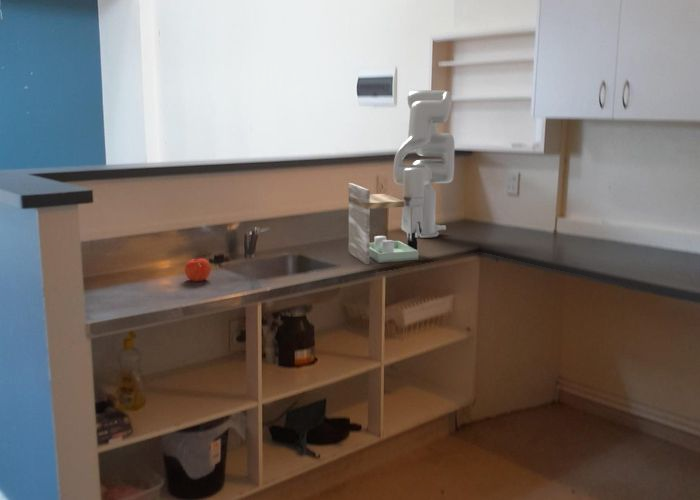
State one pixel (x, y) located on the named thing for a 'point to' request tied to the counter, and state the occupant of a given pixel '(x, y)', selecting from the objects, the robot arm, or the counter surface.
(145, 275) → the counter surface
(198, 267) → the apple
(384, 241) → the white egg
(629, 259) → the counter surface
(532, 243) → the counter surface
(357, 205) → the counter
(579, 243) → the counter surface
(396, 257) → the tray
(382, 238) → the grey rounded piece
